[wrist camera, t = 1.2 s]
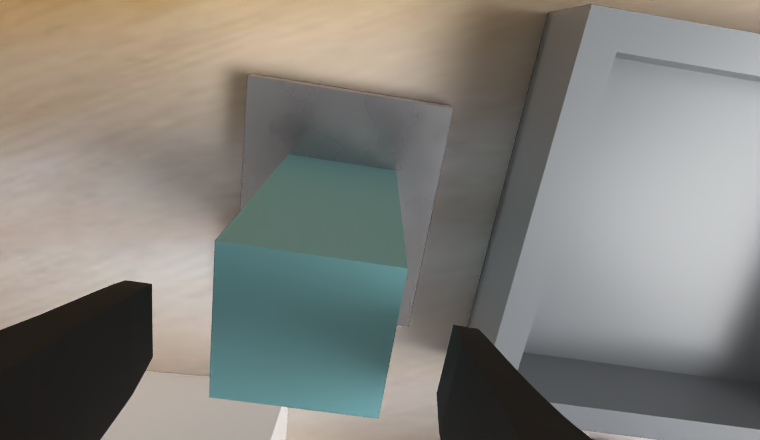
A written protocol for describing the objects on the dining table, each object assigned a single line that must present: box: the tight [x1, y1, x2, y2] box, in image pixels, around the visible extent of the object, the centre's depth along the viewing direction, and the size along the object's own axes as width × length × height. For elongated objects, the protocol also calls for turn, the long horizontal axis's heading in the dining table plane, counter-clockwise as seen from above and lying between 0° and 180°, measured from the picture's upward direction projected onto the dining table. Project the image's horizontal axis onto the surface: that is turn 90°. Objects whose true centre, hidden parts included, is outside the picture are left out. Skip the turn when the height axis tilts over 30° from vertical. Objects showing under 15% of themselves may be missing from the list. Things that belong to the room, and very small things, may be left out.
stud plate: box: [240, 74, 454, 327], centre depth 19 cm, size 10×8×3 cm
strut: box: [209, 154, 408, 418], centre depth 16 cm, size 4×4×9 cm
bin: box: [468, 4, 760, 440], centre depth 19 cm, size 16×16×4 cm
